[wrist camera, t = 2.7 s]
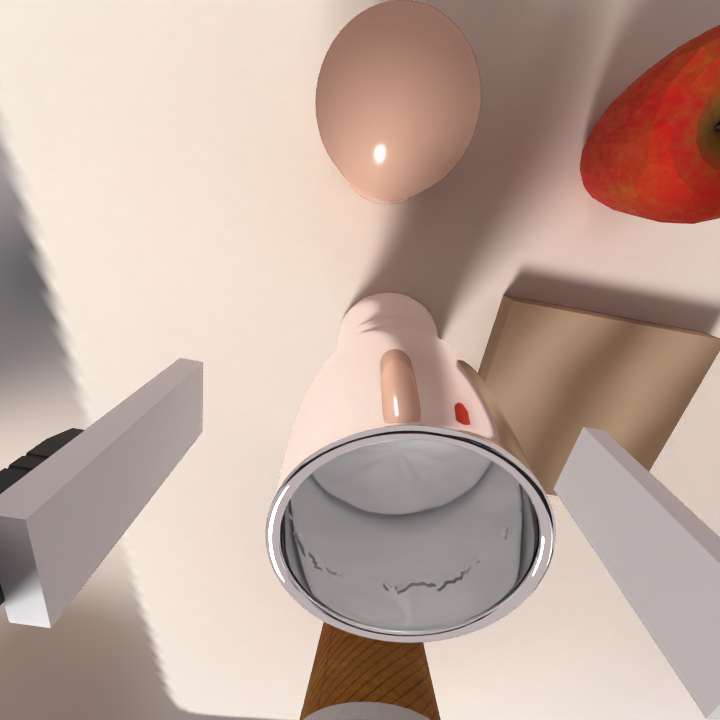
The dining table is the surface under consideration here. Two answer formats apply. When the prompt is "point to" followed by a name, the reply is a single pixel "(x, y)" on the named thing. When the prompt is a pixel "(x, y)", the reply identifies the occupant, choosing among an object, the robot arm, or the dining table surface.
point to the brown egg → (397, 100)
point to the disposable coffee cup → (368, 680)
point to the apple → (662, 140)
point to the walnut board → (590, 379)
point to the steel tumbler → (405, 488)
